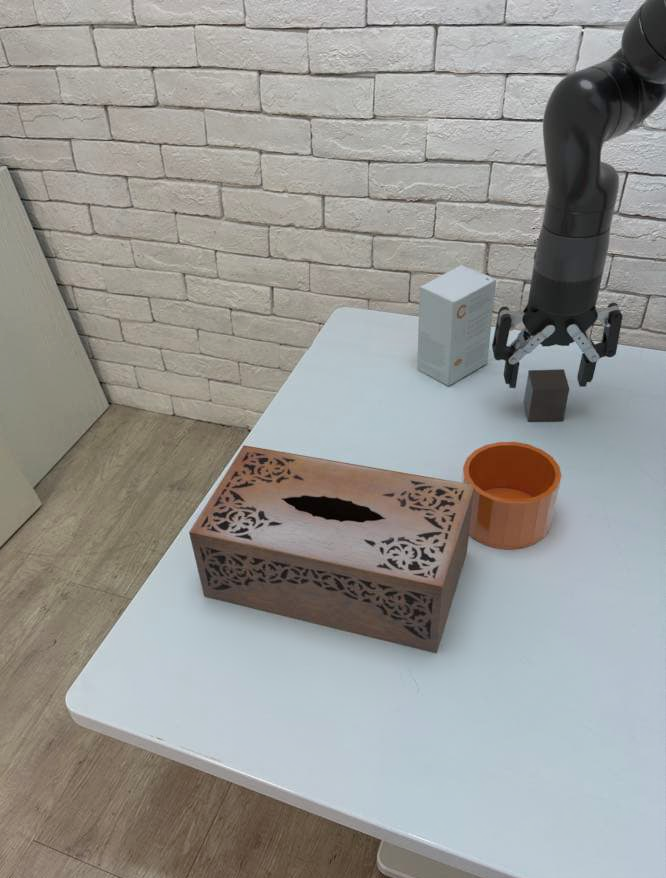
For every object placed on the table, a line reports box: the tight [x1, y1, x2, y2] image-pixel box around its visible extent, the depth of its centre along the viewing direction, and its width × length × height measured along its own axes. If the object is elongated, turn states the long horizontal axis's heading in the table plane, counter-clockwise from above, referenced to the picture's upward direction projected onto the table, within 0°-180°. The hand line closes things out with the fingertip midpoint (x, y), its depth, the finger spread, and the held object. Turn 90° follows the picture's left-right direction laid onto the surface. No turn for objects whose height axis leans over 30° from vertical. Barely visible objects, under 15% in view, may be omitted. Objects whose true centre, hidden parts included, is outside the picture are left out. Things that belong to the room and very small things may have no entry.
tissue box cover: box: [188, 444, 475, 654], centre depth 85 cm, size 26×14×10 cm, turn 68°
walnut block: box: [523, 368, 570, 423], centre depth 103 cm, size 4×4×5 cm
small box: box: [416, 264, 497, 387], centre depth 109 cm, size 8×6×13 cm
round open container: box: [461, 441, 563, 550], centre depth 89 cm, size 10×10×7 cm
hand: (546, 383), depth 101 cm, fingers open, 8 cm apart
